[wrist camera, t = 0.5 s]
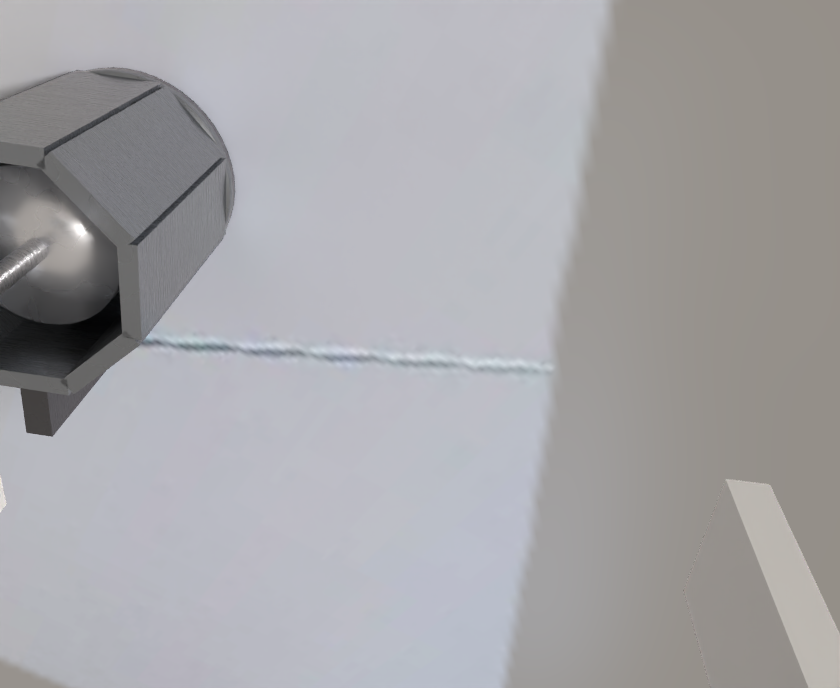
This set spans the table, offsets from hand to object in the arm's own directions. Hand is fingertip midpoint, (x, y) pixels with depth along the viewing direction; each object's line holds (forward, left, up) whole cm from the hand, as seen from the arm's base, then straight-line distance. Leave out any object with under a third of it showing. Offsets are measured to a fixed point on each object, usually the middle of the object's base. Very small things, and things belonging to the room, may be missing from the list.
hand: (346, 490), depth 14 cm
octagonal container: (+7, -16, -29) cm, 34 cm away
